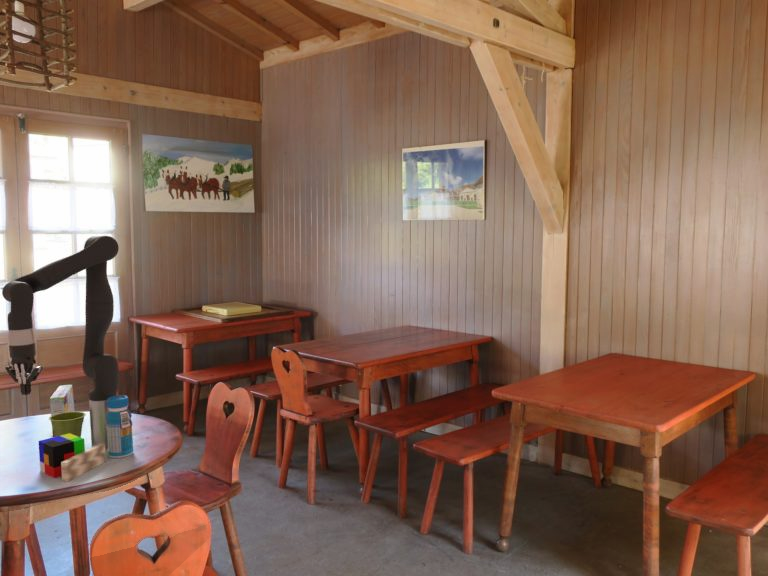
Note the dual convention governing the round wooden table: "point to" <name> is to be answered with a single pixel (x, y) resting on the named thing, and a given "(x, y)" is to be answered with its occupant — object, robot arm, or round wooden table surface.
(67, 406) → the snack box
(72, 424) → the plant pot
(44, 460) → the puzzle toy
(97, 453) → the ash board
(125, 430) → the blue canister
